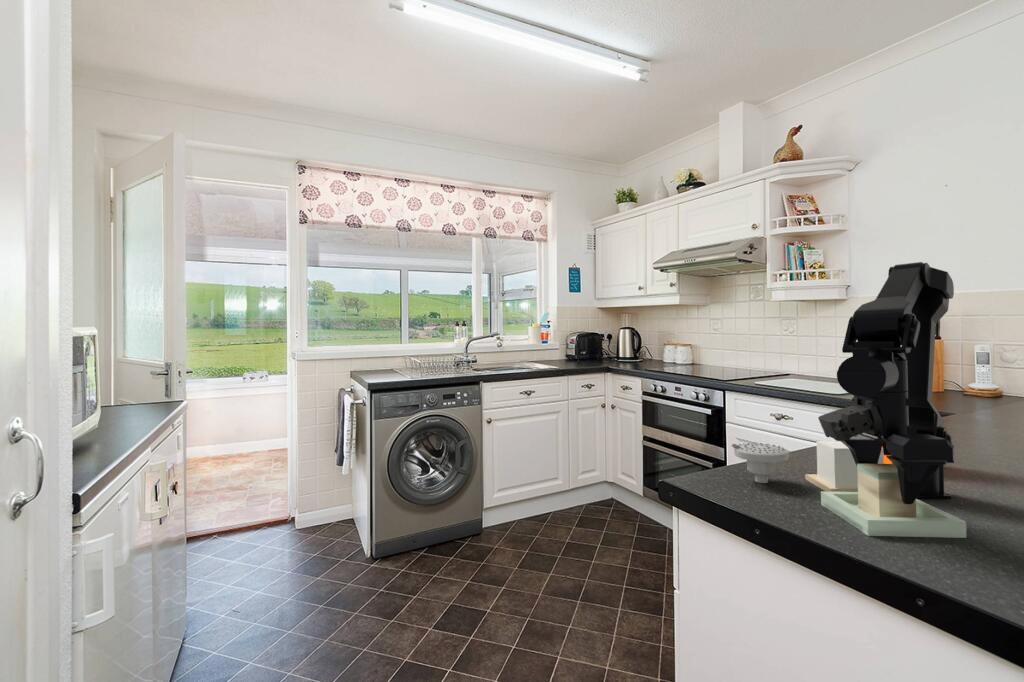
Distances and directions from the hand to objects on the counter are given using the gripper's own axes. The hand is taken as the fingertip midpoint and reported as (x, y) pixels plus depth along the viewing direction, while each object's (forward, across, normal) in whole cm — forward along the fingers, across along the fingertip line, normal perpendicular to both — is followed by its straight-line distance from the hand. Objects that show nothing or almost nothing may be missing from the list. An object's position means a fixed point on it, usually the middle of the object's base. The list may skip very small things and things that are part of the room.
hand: (886, 493), depth 71 cm
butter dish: (+4, -16, +3) cm, 17 cm away
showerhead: (+4, -19, -11) cm, 22 cm away
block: (+3, 0, 0) cm, 3 cm away
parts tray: (+4, 0, 0) cm, 4 cm away
